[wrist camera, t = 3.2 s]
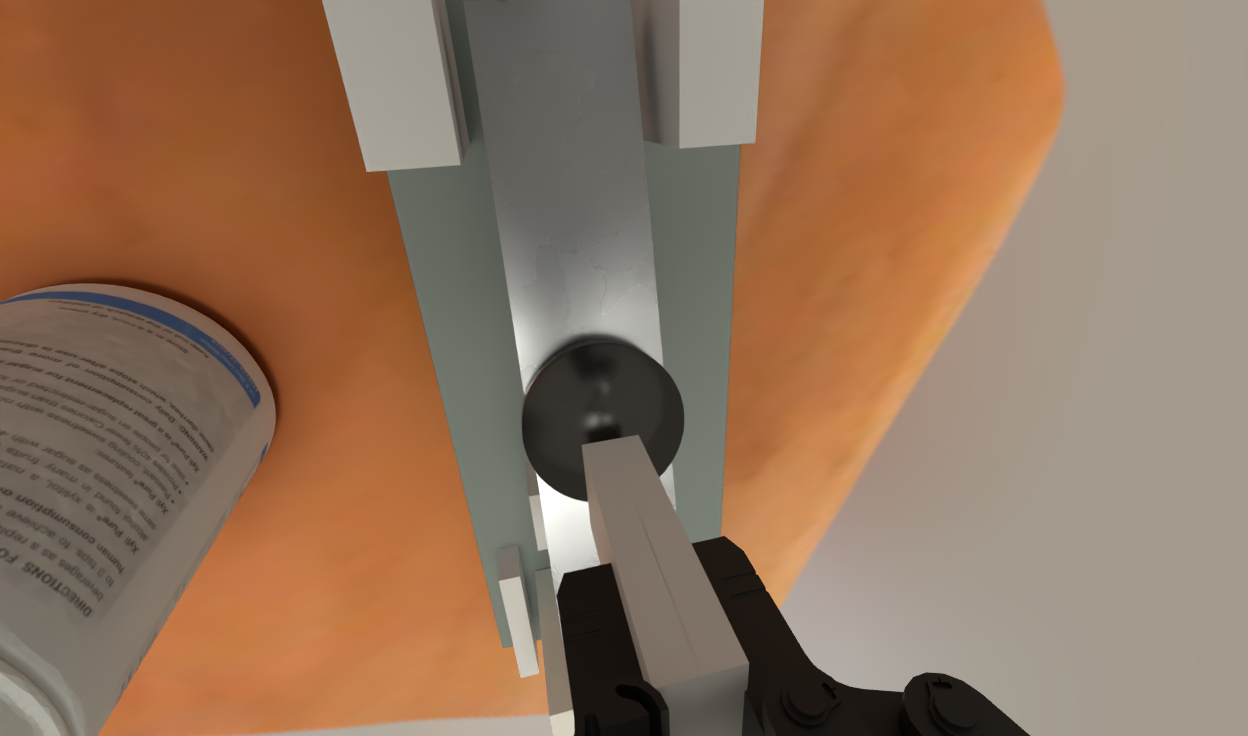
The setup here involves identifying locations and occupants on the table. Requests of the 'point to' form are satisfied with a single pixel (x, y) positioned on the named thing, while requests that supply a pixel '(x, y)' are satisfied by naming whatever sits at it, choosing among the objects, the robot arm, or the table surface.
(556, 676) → the block
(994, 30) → the table surface
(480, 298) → the mount
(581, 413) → the grey long flat bar
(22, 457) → the supplement tub
